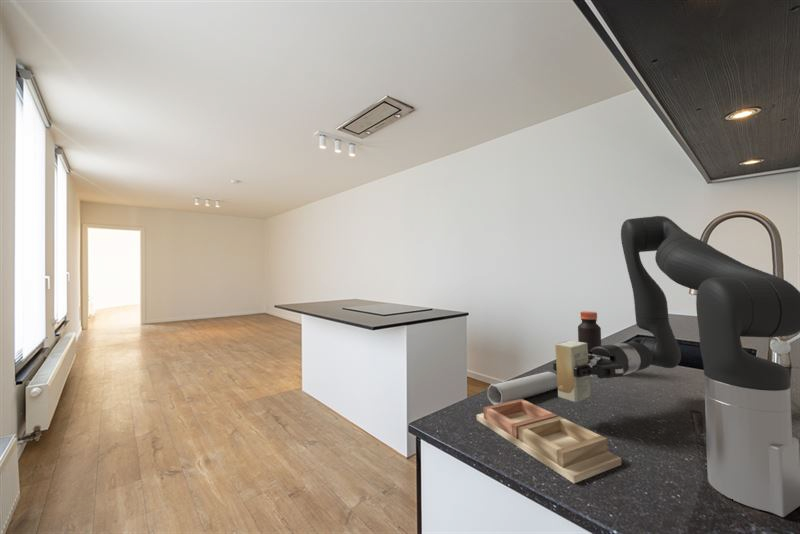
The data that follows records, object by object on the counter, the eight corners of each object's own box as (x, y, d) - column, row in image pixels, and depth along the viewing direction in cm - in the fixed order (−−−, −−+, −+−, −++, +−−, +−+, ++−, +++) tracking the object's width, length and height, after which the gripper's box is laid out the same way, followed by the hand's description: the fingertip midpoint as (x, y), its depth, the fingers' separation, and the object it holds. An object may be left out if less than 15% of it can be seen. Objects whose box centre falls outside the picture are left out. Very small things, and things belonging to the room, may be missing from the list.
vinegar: (583, 366, 117) (581, 310, 118) (605, 370, 112) (603, 312, 113) (576, 371, 113) (574, 312, 113) (598, 375, 108) (595, 314, 108)
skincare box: (572, 391, 79) (570, 339, 79) (591, 396, 75) (588, 342, 75) (556, 397, 75) (554, 343, 76) (575, 403, 72) (572, 346, 72)
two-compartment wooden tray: (621, 464, 59) (620, 443, 59) (574, 483, 54) (573, 460, 54) (516, 410, 83) (515, 395, 83) (476, 419, 78) (476, 404, 78)
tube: (545, 381, 101) (485, 397, 89) (550, 366, 100) (489, 380, 87) (560, 392, 97) (499, 410, 84) (566, 376, 95) (504, 393, 83)
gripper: (586, 339, 88) (538, 346, 81) (644, 350, 75) (593, 359, 68) (587, 368, 88) (540, 377, 81) (646, 383, 74) (595, 396, 68)
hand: (564, 369), depth 74 cm, fingers closed on skincare box, 4 cm apart
